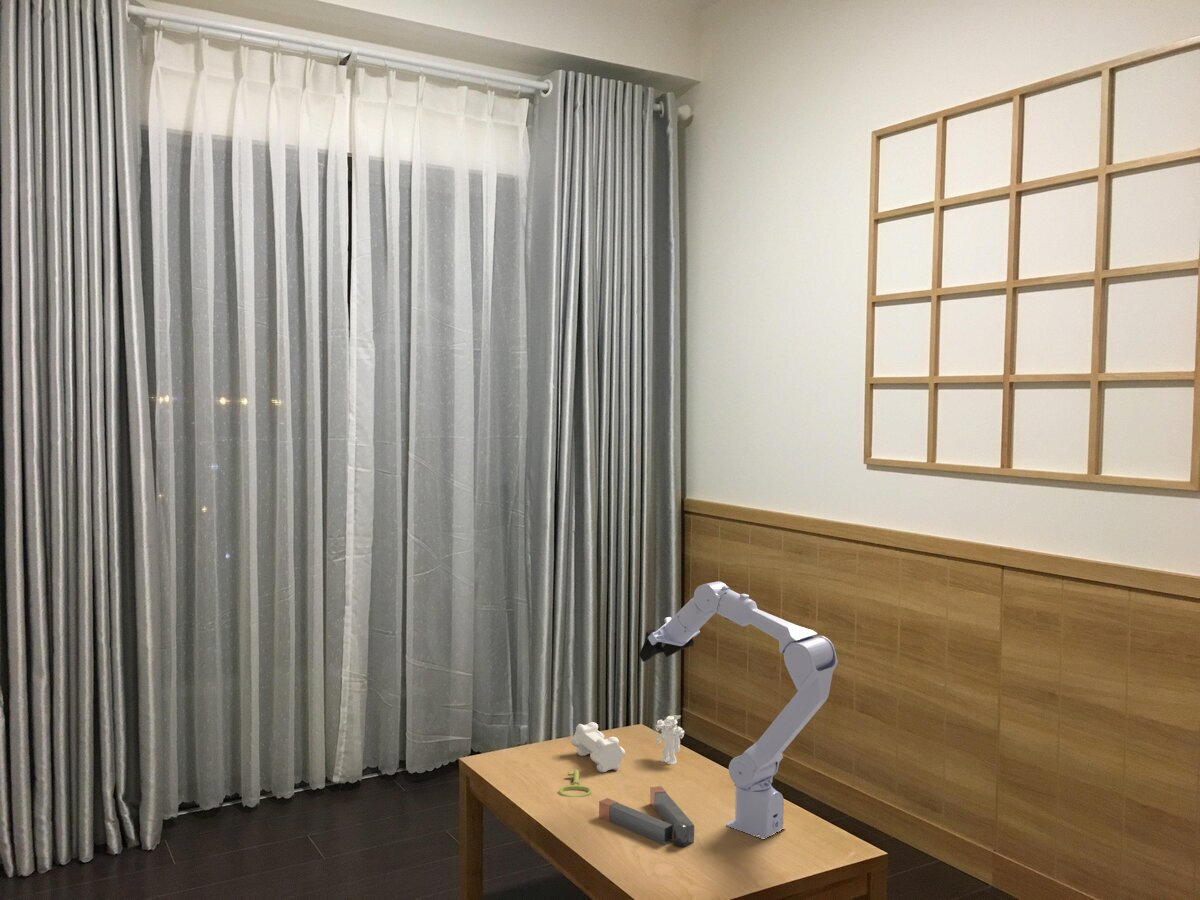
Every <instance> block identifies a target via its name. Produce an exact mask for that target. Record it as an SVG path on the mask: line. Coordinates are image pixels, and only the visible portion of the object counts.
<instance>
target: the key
mask: <svg viewBox="0 0 1200 900" xmlns="http://www.w3.org/2000/svg"><path fill="white" fill-rule="evenodd" d="M567 776H569V777H570V776H571V777H572V776H573V778H572V779H573V780H572V781H573V782H571V785H565V786H561V787H560V788H559V792H558V794H559V795H560V796H562V797H563V796H564V797H568V798H582V797H583V798H584V797H588V796H591V795H592V794H593V792H592V788H591V787H589V786H587V785H581V784H580V782H579V779H580V771H579V770H578V769H574V771H567ZM565 791H586V792H585V793H582V794H570V793H566V792H565Z"/></svg>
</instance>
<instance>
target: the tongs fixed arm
mask: <svg viewBox="0 0 1200 900" xmlns="http://www.w3.org/2000/svg"><path fill="white" fill-rule="evenodd" d="M598 803H599V804H598V805H599V806H598V818H599V819H602V820H604V821H606V822H610V823H612V824H614V825H616V826H619V827H620V828H623V829H625V830H628V831H630V832H633V833H635V834H638V835H640V836H642V837H644V838H647V839H649V840H651V841H653V842H656V843H658V844H660V845H662V846H666V845H668V844H670V843H672V842H673V835H674V832H673V825H672V824H669V823H667V822H665V821H664V820H663V819H662V820H661V819H660V818H657V817H654V816H652V815H649V814H647V813H644V812H642V811H640V810H637V809H634V808H633V807H629V806H627V805H626V804H622V803H620V802H618V801H616V800H614V799H611V798H609V797H607V798H603V799H602V800H599V802H598Z"/></svg>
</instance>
